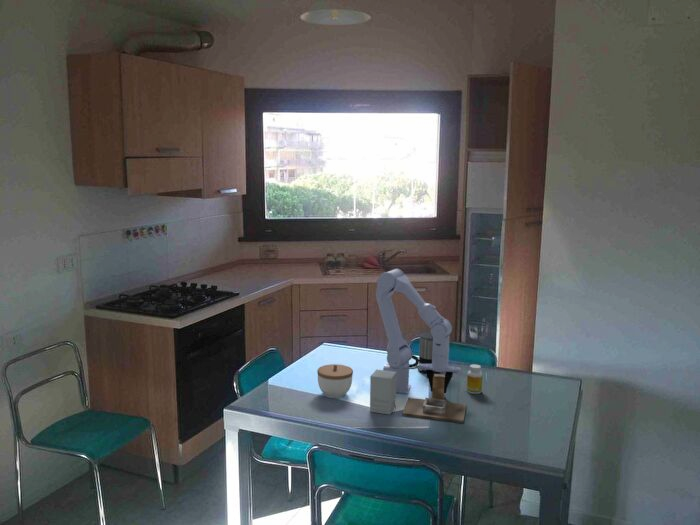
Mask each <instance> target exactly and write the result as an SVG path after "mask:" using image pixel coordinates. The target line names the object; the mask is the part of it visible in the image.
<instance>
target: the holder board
mask: <svg viewBox="0 0 700 525" xmlns="http://www.w3.org/2000/svg"><path fill="white" fill-rule="evenodd" d="M466 408H467V404H466V403H458V402H450V401H448V400H447V399H444V400H441V399H432V397H431V398H430V397H425V399H424V398H415V397H408V398H407V400H406V402H405V405H404V406H403V410H402V412H401V416H402V417H403V416H404V417H414V418H419V419H420V418H421V419H427V420H428V419H429V420H435V421H436V420H438V421H446V422H454V423H461V424H462V423H463V424H464V423H465V422H464V421H465V414H466Z"/></svg>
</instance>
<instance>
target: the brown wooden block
mask: <svg viewBox="0 0 700 525" xmlns="http://www.w3.org/2000/svg"><path fill="white" fill-rule="evenodd" d="M444 387H445V374H440V373H438V374H434V376H433V389H432V391H431V392H432V394H431V398H432V399H441V400H445V396H446V395H445V394H446V393H444Z"/></svg>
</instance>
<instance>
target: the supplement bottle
mask: <svg viewBox="0 0 700 525" xmlns="http://www.w3.org/2000/svg"><path fill="white" fill-rule="evenodd" d="M466 376H467V377H466V392H467V393H469V394H472V395H473V394H474V395H477V394H478V395H479V394H481V393H482V389H483V386H482V385H483V372H482V367H481V365H479V364H470V365H469V370H468V371H467V375H466Z"/></svg>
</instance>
